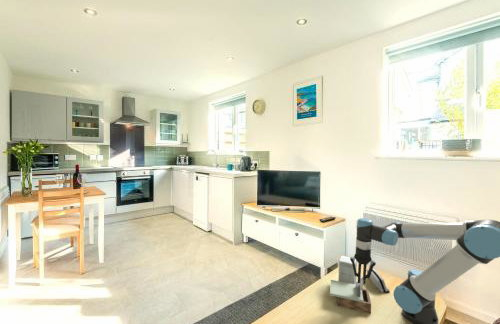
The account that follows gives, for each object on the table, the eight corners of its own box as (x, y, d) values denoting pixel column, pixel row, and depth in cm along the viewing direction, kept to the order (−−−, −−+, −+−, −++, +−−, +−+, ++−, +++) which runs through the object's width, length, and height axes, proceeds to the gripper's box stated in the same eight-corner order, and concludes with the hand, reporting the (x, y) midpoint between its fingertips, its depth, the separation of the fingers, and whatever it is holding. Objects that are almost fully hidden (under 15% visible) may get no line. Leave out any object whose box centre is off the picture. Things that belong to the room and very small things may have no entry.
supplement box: (356, 284, 153) (357, 258, 152) (354, 292, 145) (355, 264, 144) (340, 280, 158) (341, 254, 157) (337, 287, 150) (338, 260, 149)
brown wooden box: (367, 298, 139) (368, 289, 139) (370, 313, 126) (371, 304, 126) (338, 292, 145) (338, 283, 144) (338, 306, 132) (338, 297, 131)
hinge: (390, 292, 145) (385, 277, 144) (382, 295, 145) (377, 279, 145) (376, 277, 162) (371, 264, 161) (369, 280, 162) (364, 266, 161)
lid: (360, 287, 140) (361, 280, 140) (363, 302, 127) (363, 294, 127) (330, 281, 146) (330, 274, 146) (329, 295, 132) (330, 287, 132)
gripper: (375, 246, 134) (373, 288, 135) (350, 242, 138) (348, 282, 140) (377, 252, 127) (375, 295, 128) (350, 247, 131) (348, 290, 133)
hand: (361, 289), depth 134 cm, fingers closed
